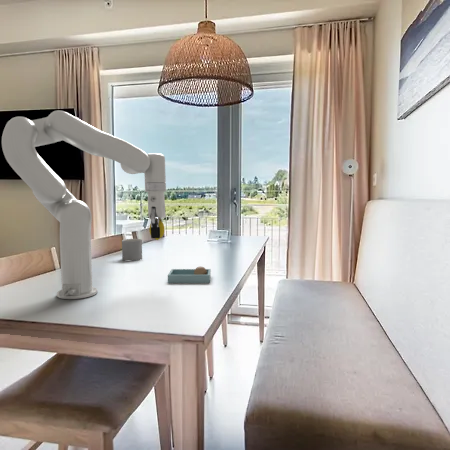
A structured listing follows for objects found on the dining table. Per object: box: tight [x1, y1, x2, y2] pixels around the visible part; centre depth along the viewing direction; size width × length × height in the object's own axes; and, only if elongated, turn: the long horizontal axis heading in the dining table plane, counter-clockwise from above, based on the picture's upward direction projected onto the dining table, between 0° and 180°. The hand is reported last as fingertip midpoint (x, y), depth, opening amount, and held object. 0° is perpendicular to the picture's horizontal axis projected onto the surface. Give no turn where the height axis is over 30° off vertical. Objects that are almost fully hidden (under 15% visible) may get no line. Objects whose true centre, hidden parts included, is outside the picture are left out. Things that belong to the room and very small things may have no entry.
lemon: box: [148, 220, 165, 241], centre depth 136 cm, size 6×6×8 cm
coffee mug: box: [121, 238, 143, 261], centre depth 191 cm, size 13×10×10 cm
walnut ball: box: [194, 266, 207, 275], centre depth 142 cm, size 5×5×5 cm
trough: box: [167, 268, 212, 284], centre depth 142 cm, size 11×16×4 cm
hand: (157, 236), depth 136 cm, fingers closed on lemon, 5 cm apart
